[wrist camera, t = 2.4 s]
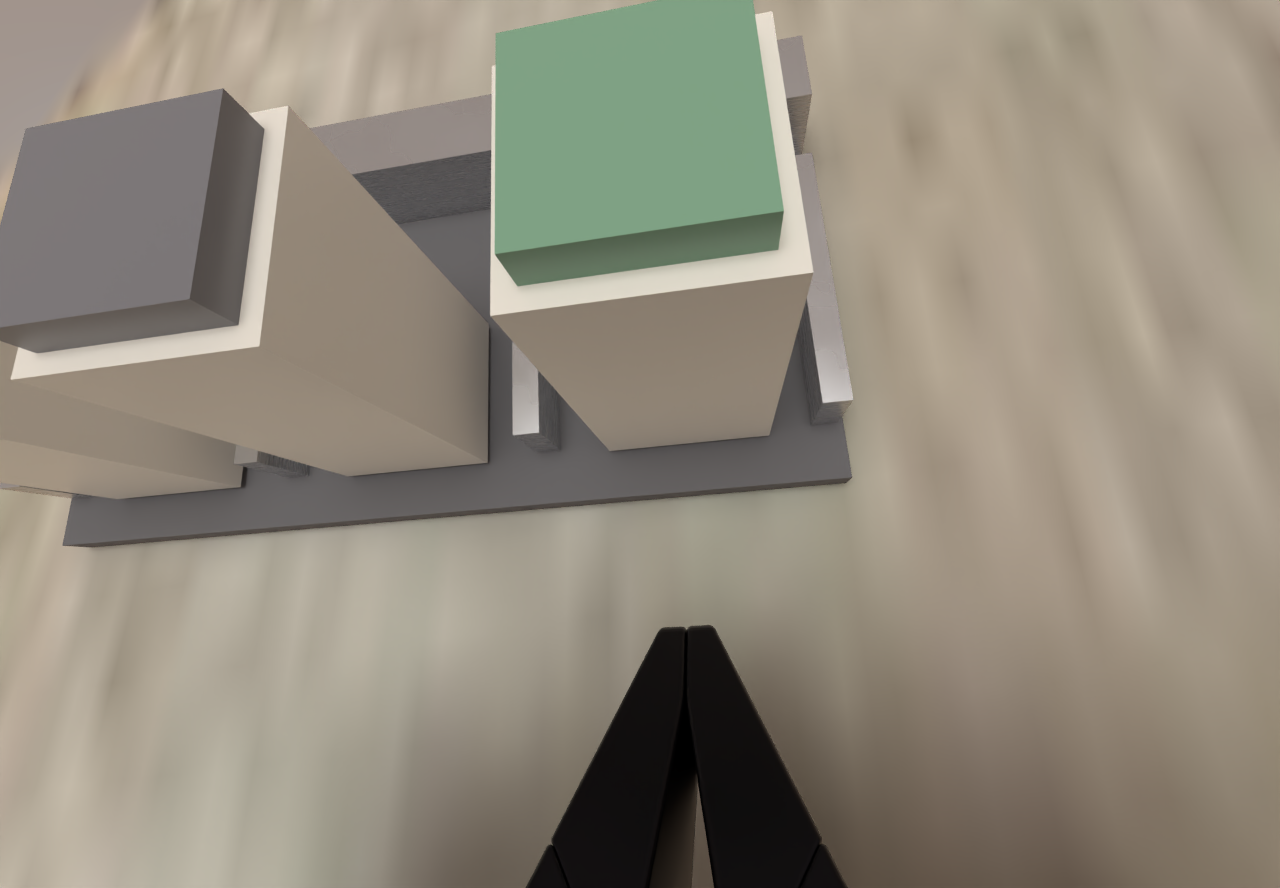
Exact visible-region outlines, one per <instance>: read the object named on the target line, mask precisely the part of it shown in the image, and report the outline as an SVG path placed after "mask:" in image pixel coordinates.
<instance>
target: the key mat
mask: <svg viewBox="0 0 1280 888" xmlns="http://www.w3.org/2000/svg"><path fill="white" fill-rule="evenodd" d="M398 226H399V227H400V228H401V229H402V230H403V231H404V232H405V233H406V234H407V235H408V236H409V238H410V239H411V240H412V241H413V242H414V243H415V244H416V245H417V246H418V247H419V248H420V250H421V251H422V252H423V253H424V254H425V255H426V256H427V257H428V258H429V259H430V260H431V262H432V263H433V264H434V265H435V266H436V267H437V268H438V269H439V270H440V271H441V272H442V274H443V275H444V276H445V277H446V278H447V279H448V280H449V281H450V282H451V283H452V284H453V286H454V287H455V288H456V289H457V290H458V291H459V292H460V293H461V294H462V295H463V296H464V298H465V299H466V300H467V301H468V302H469V303H470V304H471V305H472V306H473V307H474V308H475V310H476V311H477V312H478V313H479V314H480V315H481V316H482V317H483V318H484V319H485V320H486V322H487V323H488V324H489V362H488V463H480V464H470V465H460V466H449V467H439V468H429V469H419V470H409V471H398V472H388V473H378V474H368V475H357V476H345V475H341V474H338V473H334V472H331V471H327V470H324V469H320V468H317V467H313V466H310V473H309V476H301V477H291V478H288V477H284V476H280V475H275V474H271V473H267V472H263V471H259V470H255V469H251V468H247V467H243V472H242V480H241V487H237V488H227V489H217V490H206V491H196V492H186V493H176V494H165V495H155V496H145V497H135V498H125V499H112V498H105V497H98V496H94V497H89V498H79V499H73V498H72V501H71V506H70V511H69V516H68V521H67V526H66V531H65V536H64V541H63V546H78V547H98V546H110V545H122V544H134V543H145V542H157V541H169V540H180V539H192V538H204V537H216V536H227V535H239V534H251V533H262V532H274V531H286V530H298V529H309V528H321V527H333V526H344V525H356V524H368V523H380V522H391V521H403V520H415V519H427V518H438V517H450V516H462V515H473V514H485V513H497V512H509V511H520V510H532V509H544V508H555V507H567V506H579V505H591V504H602V503H614V502H626V501H638V500H649V499H661V498H673V497H684V496H696V495H708V494H720V493H731V492H743V491H755V490H766V489H778V488H790V487H802V486H813V485H825V484H837V483H846V482H847V481H848V480H850V479H851V478H852V474H851V468H850V462H849V455H848V449H847V443H846V437H845V431H844V424H843V418H842V417H841V419H840V420H839V422H838V423H837V424H827V425H816V426H811V423H810V416H809V410H808V403H807V396H806V389H805V382H804V375H803V368H802V361H801V355H800V348H799V341H798V334H797V335H796V339H795V342H794V346H793V350H792V353H791V357H790V361H789V364H788V368H787V372H786V375H785V379H784V383H783V387H782V390H781V394H780V398H779V401H778V405H777V409H776V412H775V416H774V420H773V423H772V427H771V431H770V434H769V436H759V437H749V438H738V439H728V440H718V441H708V442H697V443H687V444H677V445H667V446H656V447H646V448H636V449H626V450H616V451H609V450H608V449H607V448H606V446H605V445H604V444H603V443H602V442H601V441H600V440H599V438H598V437H597V436H596V435H595V434H594V433H593V432H592V431H591V429H590V428H589V427H588V426H587V425H586V424H585V423H584V422H583V420H582V419H581V418H580V417H579V416H578V415H577V414H576V412H575V411H574V410H573V409H572V408H571V407H570V406H569V405H568V403H567V402H566V401H565V400H564V399H563V398H562V397H561V395H560V412H561V450H562V451H554V452H544V453H537V452H536V451H534V450H533V449H532V448H530V447H529V446H527V445H526V444H524V443H523V442H522V441H520V440H519V439H517V438H516V437H514V436H513V407H512V340H511V339H510V338H509V337H508V336H507V334H506V333H505V332H504V331H503V330H502V329H501V328H500V326H499V325H498V324H497V323H496V322H495V321H494V320H493V319H492V317H491V316H490V267H491V209H489V210H483V211H477V212H470V213H464V214H458V215H452V216H445V217H439V218H433V219H427V220H421V221H414V222H408V223H402V224H398Z"/></svg>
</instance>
